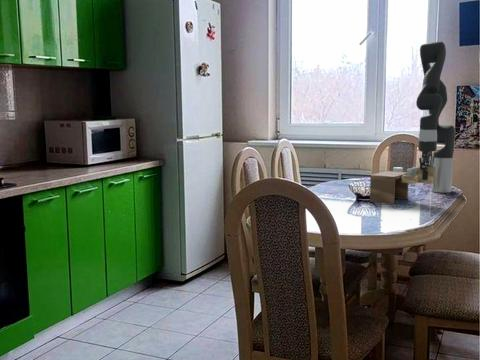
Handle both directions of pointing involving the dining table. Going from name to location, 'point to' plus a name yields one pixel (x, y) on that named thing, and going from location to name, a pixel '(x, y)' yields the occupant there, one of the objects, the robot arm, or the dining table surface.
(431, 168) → the tray
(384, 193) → the brown cardboard box
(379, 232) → the dining table surface
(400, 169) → the supplement bottle
